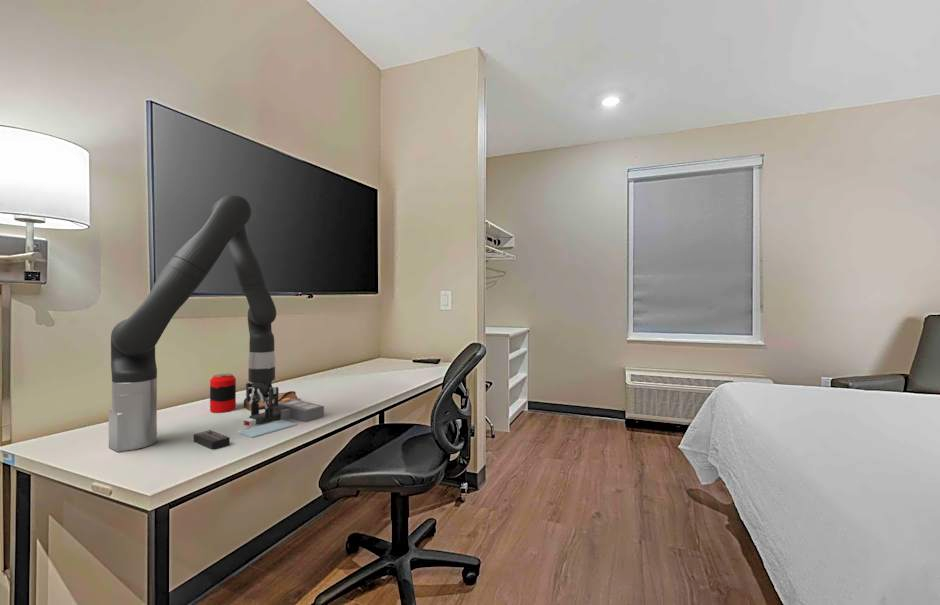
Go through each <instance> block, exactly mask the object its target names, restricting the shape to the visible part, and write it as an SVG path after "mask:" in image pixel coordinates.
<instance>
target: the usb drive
mask: <svg viewBox="0 0 940 605" xmlns="http://www.w3.org/2000/svg"><path fill="white" fill-rule="evenodd" d="M242 420H243V421H242V425H243V426H246V427H250V428H251V427H253V426H262V425H266V424H269V423H273V422H277V421H280V420H281V410H273V419H272V420H269V421H266V420H265V411H264V412H261V413H260V412H259V414H256V415H251V414H250V415H249V417H248V418H245V419H242Z"/></svg>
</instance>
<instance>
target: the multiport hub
mask: <svg viewBox="0 0 940 605" xmlns="http://www.w3.org/2000/svg"><path fill="white" fill-rule="evenodd" d="M192 440H193V442H194V443H195V444H198V445H200V446H203V447H205V448H207V449H209V450H212V451H214V450H217V449H218V450H219V449H221V448H222V449H223V448H224V447H228V446H230V443H231V442H230V437H228V436H226V435H224V434H221V433H218V432H216V431H213V430H204V431H199V432H197V433H194V434H193V438H192Z"/></svg>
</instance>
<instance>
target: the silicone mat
mask: <svg viewBox="0 0 940 605" xmlns="http://www.w3.org/2000/svg"><path fill="white" fill-rule="evenodd" d="M295 426H297V422H296V423H294V422H291V421H288V420H286V419H285V420H281V419H280V420H276V421H272V422H269V423H265V424H261V425H257V426H255V427H252V428H251V427H250V428H247V429H244V430H239V431H238V434H239V435H241V436H245V437H248V438H251V439H254V438H257V437H261V436H265V435H267V434H272V433H274V432H277V431H281V430H285V429H288V428H292V427H295Z"/></svg>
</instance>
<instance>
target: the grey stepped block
mask: <svg viewBox="0 0 940 605" xmlns="http://www.w3.org/2000/svg"><path fill="white" fill-rule="evenodd" d="M273 410H281V419H280V421H281V420H285V421H286V420H288V419H293V420H297V421H302V422H305V423H307V422H309V421H313V420H317V419H320V417H321V418H323V416H324V417H325V406H324V405H321V404H316V403H313V402H309V401H304V400H299V399H298V400H296V399H290V398H286V399H281V401H279V402H278V406H276V407H274V408H273Z"/></svg>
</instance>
